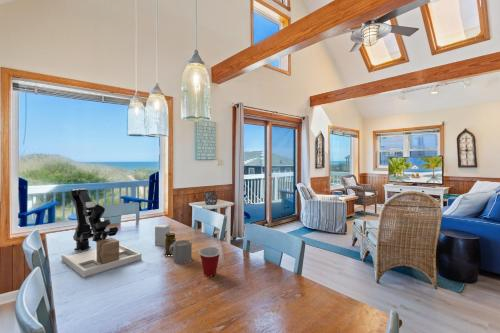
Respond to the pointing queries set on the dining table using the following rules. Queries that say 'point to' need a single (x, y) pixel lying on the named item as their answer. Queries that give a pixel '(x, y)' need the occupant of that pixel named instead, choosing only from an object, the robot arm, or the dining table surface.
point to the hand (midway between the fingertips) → (104, 246)
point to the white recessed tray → (89, 265)
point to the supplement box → (161, 234)
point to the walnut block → (107, 250)
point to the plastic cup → (209, 260)
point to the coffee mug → (181, 251)
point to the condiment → (169, 243)
